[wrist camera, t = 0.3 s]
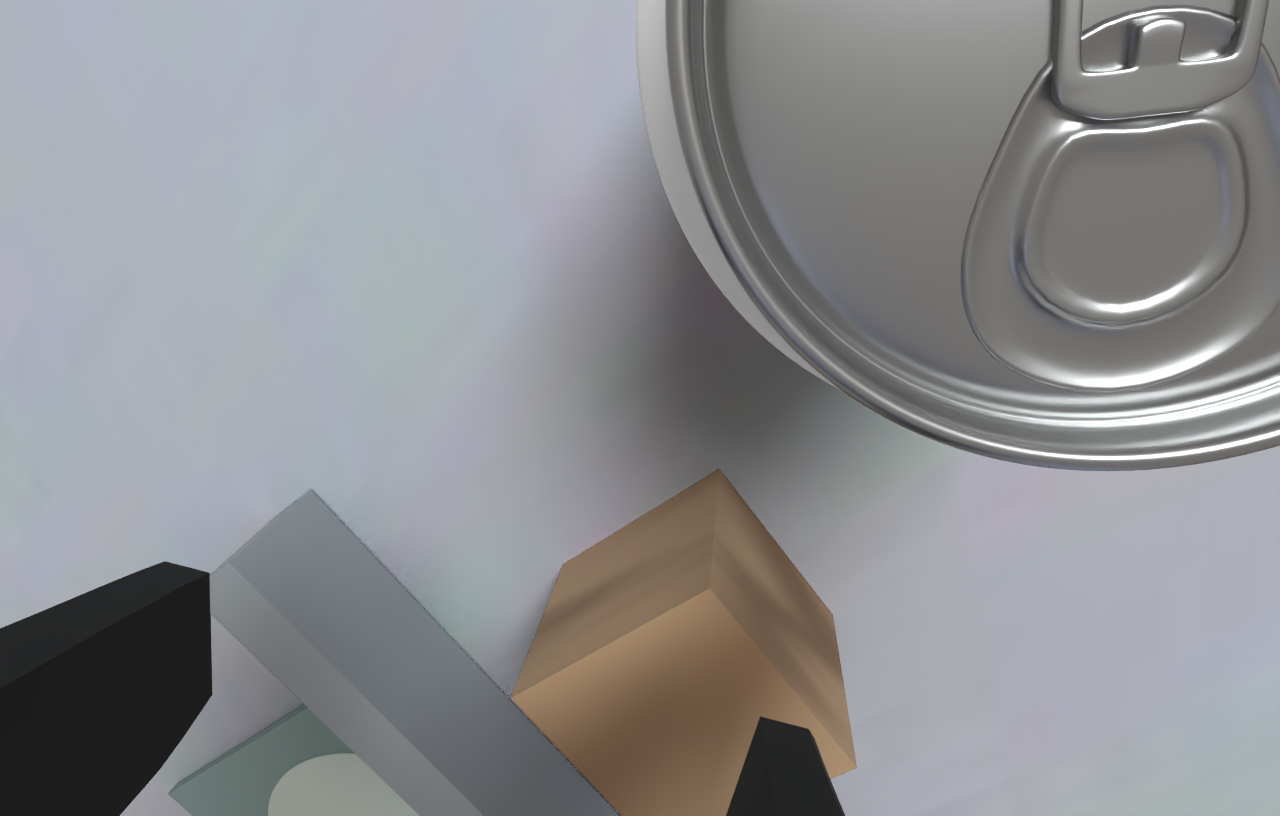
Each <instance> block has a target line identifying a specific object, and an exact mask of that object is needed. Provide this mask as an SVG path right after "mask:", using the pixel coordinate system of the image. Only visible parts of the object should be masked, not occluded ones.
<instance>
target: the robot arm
mask: <svg viewBox="0 0 1280 816" xmlns="http://www.w3.org/2000/svg"><path fill="white" fill-rule="evenodd" d="M211 696H212V663H211V618H210V573H208V572H204V571H200V570H196V569H192V568H188V567H185V566H181V565H177V564H173V563H169V562H162V563H159V564H157V565H154V566H151V567H149V568H146V569H143V570H141V571H138V572H136V573H133V574H130V575H128V576H126V577H123V578H121V579H118V580H116V581H113V582H111V583H108V584H106V585H104V586H101V587H99V588H96V589H94V590H92V591H89V592H87V593H85V594H82V595H80V596H77V597H75V598H73V599H70V600H68V601H66V602H63V603H61V604H58V605H56V606H54V607H51V608H49V609H47V610H44V611H42V612H39V613H37V614H34V615H32V616H30V617H27V618H25V619H22V620H20V621H18V622H15V623H13V624H10V625H8V626H5V627H3V628H1V629H0V816H120V814H121V813H122V812H123V811H124V810H125V809H126V808H127V806H128V805H129V804H130V803H131V802H132V801H133V800H134V798H135V797H136V796H137V795H138V794H139V793H140V792H141V790H142V789H143V788H144V787H145V786H146V785H147V784H148V782H149V781H150V780H151V779H152V778H153V777H154V775H155V774H156V773H157V772H158V771H159V770H160V768H161V767H162V766H163V764H164V763H165V762H166V760H167V759H168V757H169V756H170V755H171V753H172V752H173V750H174V749H175V748H176V746H177V745H178V744H179V742H180V741H181V739H182V738H183V737H184V735H185V734H186V732H187V731H188V729H189V728H190V727H191V725H192V724H193V722H194V721H195V719H196V718H197V716H198V715H199V713H200V712H201V710H202V709H203V707H204V706H205V704H206V703H207V701H208V700H209V699H210V697H211ZM726 816H845V814H844V812H843V810H842V807H841V805H840V802H839V800H838V797H837V795H836V792H835V790H834V788H833V785H832V783H831V780H830V777H829V775H828V772H827V770H826V767H825V765H824V762H823V759H822V757H821V754H820V752H819V749H818V746H817V743H816V741H815V738H814V737H813V735H812V733H811V732H810V730H809V729H807V728H803V727H799V726H795V725H792V724H788V723H784V722H780V721H776V720H772V719H769V718H765V717H761V716H760V718H759V721H758V724H757V727H756V730H755V733H754V736H753V738H752V741H751V744H750V747H749V750H748V753H747V756H746V759H745V762H744V765H743V767H742V770H741V773H740V776H739V779H738V782H737V785H736V788H735V791H734V794H733V796H732V799H731V802H730V805H729V808H728V811H727V814H726Z"/></svg>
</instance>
